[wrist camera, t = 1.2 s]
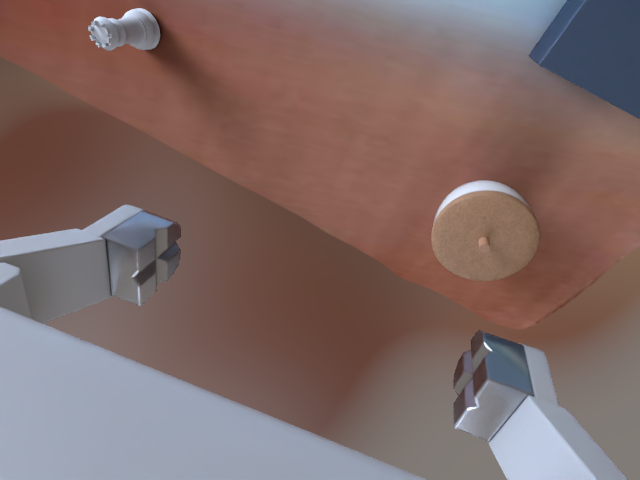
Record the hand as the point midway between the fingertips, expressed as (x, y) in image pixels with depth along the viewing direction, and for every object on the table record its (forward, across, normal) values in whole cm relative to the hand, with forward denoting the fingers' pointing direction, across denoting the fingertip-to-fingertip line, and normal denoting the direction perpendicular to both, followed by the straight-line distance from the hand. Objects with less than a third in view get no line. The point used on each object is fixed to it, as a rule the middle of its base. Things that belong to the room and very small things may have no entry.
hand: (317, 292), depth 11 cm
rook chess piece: (+39, +33, +3) cm, 52 cm away
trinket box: (+40, -12, +13) cm, 43 cm away
